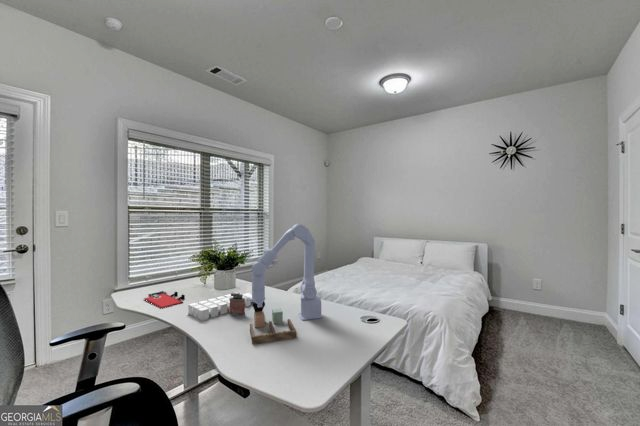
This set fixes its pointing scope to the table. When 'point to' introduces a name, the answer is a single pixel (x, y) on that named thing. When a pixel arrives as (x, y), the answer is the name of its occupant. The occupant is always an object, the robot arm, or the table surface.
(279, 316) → the sage block
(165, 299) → the red board with handle
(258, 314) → the terracotta block
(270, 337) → the rack
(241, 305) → the red printed tin
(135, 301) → the table surface
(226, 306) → the organizer
